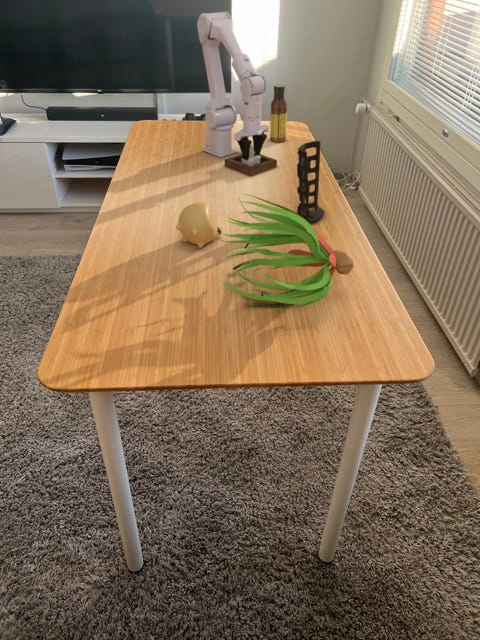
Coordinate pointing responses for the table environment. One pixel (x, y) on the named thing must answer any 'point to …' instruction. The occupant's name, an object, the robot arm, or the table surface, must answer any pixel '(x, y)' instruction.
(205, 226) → the toy pig
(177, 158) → the table surface
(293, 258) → the decorative plant
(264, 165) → the brown wooden square frame
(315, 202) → the holder
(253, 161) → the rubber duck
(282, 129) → the sauce bottle
